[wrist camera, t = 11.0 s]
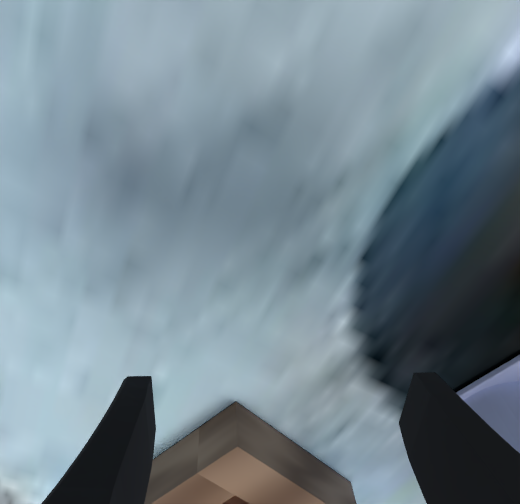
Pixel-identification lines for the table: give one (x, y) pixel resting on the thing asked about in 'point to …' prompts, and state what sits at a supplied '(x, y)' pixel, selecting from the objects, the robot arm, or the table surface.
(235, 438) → the socket block
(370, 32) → the table surface
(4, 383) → the table surface
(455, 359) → the table surface
